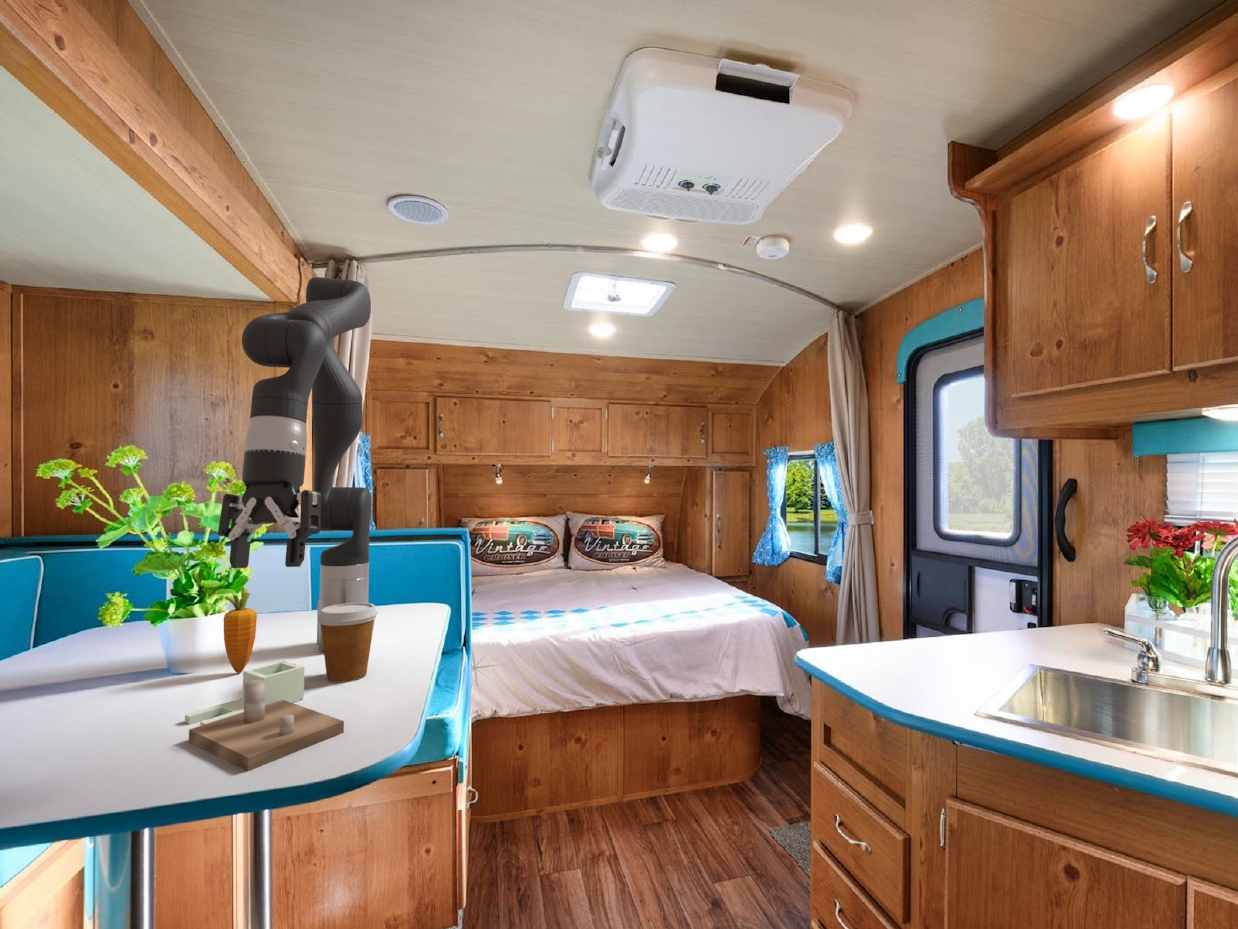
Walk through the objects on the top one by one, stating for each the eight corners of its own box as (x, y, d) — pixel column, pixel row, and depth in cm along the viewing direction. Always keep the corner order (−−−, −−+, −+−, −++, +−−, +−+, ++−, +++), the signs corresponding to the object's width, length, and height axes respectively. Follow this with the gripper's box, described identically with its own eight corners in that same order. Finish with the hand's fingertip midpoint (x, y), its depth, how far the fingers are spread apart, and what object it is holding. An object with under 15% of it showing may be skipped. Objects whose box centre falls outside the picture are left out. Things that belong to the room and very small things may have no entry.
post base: (188, 741, 73) (190, 690, 74) (282, 709, 84) (283, 665, 84) (248, 770, 66) (249, 714, 66) (343, 732, 76) (344, 683, 76)
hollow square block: (282, 692, 91) (283, 660, 91) (303, 699, 88) (304, 667, 88) (184, 722, 79) (185, 686, 80) (205, 731, 76) (206, 694, 77)
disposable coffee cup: (304, 680, 97) (305, 610, 97) (353, 664, 105) (354, 600, 105) (340, 689, 92) (341, 616, 93) (388, 672, 101) (389, 605, 101)
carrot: (235, 679, 97) (237, 592, 97) (215, 676, 98) (217, 590, 99) (262, 670, 102) (264, 587, 102) (242, 667, 103) (244, 585, 104)
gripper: (338, 454, 82) (330, 566, 80) (254, 459, 85) (243, 568, 82) (300, 444, 75) (290, 567, 72) (210, 450, 78) (197, 569, 75)
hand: (265, 567), depth 77 cm, fingers open, 8 cm apart
